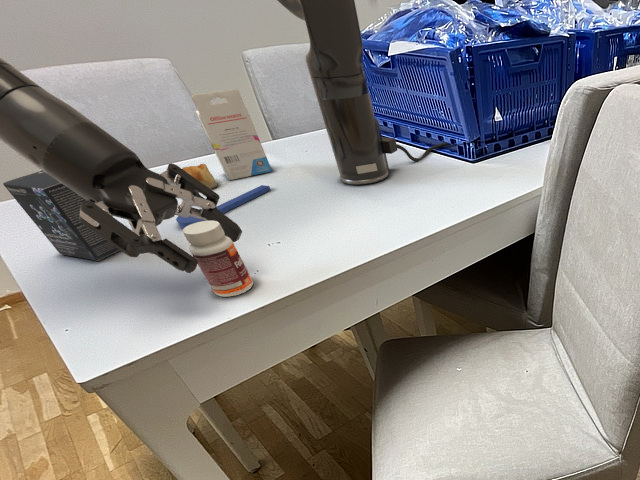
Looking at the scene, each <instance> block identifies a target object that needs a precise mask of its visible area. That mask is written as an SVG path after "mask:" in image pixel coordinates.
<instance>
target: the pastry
mask: <svg viewBox="0 0 640 480" xmlns="http://www.w3.org/2000/svg"><path fill="white" fill-rule="evenodd" d="M181 169H183V170H184V171H186V172H187V173H188V174H190V175H191V176H193V177H194V178H196V179H197V180H198V181H200V182H201V183H203V184H204V185H206V186H207V187H208V188H210V189H211V190H212V189H214V188H216V187H217V186H218V183H217V181H216V179H215V177H214V175H213V174H212V173H211V171H210V169H209V168H208V166H207V164H206V163H200V164H199V165H190V166H189V165H188V166H184V167H182V168H181Z"/></svg>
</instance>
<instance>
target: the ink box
mask: <svg viewBox="0 0 640 480" xmlns="http://www.w3.org/2000/svg"><path fill="white" fill-rule="evenodd" d="M216 98H219V99H226V101H222V102H215V103H212V102H211V101H212V100H216ZM191 100H192V102H193V104H194V106H195V107H196V110H195V113H196V116H197V118H198V120H199V122H200V124H201V126H202V129H203V131H204V133H205V135H206V137H207V139H208V141H209V142H210V145H211V147H212V149H213V151H214V153H215V155H216V157H217V159H218V162H219V163H220V165H221V168H222V170H223V172H224V175H225V176H226V177H227V178H228V179H229V180H230V181H233V180H237V179H243V178H247V177H253V176H256V175H261V174H266V173H271V172H273V169H272V167H271V165H270V161H269V160H268V157H267V155H266V152H265V150H264V147H263V145H262V142H261V140H260V138H259V135H258V132H257V130H256V127H255V125H254V123H253V120H252V118H251V116H250V113H249V110H248V108H247V107H246V106H245V105H246V104H245V102H244V100H243V98H242V96H241V93H240V91H239V89H238V88H232V89H223V90H216V91H209V92H202V93H193V94H192V95H191Z"/></svg>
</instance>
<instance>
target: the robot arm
mask: <svg viewBox="0 0 640 480" xmlns="http://www.w3.org/2000/svg"><path fill="white" fill-rule="evenodd" d="M276 1H277V2H278V3H279V4H280V5H281V6H283V7H284V8H285V10H287V11H288V12H289V13H291V14H292V15H293V16H295V17H296V18H298V19H299V20H301V21H304V22H305V25H306V30H307V34H308V39H309V51H308V52H307V53H306V55H305V63H306V68H307V70H308V74H309V76H310V80H311V84H312V87H313V91H314V93H315V97H316V100H317V103H318V106H319V110H320V114H321V117H322V121H323V123H324V126H325V130H326V133H327V136H328V139H329V143H330V146H331V149H332V154H333V156H334V159H335V163H336V166H337V170H338V172H339V173H338V174H339V178H340V181H341V182H342V183H344V184H347V185H357V186H358V185H369V184H373V183H377V182H380V181H383V180H385V179H387V178H388V176H389V172H390V166H389V161H388V158H387V154H389V155H390V154H391V155H392V154H394V153H395V152H397V151H398V150H400V151H402V152H403V153H404V154H405V155H406V156H407V158H409V159H410V160H411V161H412V162H415V163H418V162H420V161H422V160H423V159H425V158H426V157H427V156H428V155H429V154H430V152H431V151H435V150H437V149H440V148H444V147H448V146H452V145H451V144H448V143H446V142H442V143H439V144H435V145H432V146H430V147H428V148H427V149H426V150H425V151H424V153H423V154H422V155H421V157H418V158H417V157H414V156H413V155H412V154H411V153H410V152H409V151H408V150H407V149H406V148H405V147H404V146H403V145H400V144H398V143H397V140H396V138H394V137H384V136H383V135H382V132H381V126H380V123H379V120H378V118H376V116H375V112H374V107H373V103H372V98H371V95H370V89H369V85H368V81H367V78H366V72H365V68H364V64H363V55H364V45H363V44H364V43H363V37H362V33H361V28H360V21H359V17H358V12H357V7H356V1H355V0H276ZM0 141H2V143H4V144H6V145H7V146H8V147H9V148H10V149H11V150H12V151H14V152H15V153H16V154H18V155H19V156H20V157H22V158H23V159H24V160H25V161H28V162H29V163H31V165H34V166H35V167H36V168H38V169H39V170H40V171H41V170H42V171H44V172H45V173H47V174H48V175H50V176H51V177H53V178H54V179H56V180H57V181H59V182H60V183H62V184H63V185H65V186H66V187H68V188H69V189H71V190H72V191H74V192H75V193H77V194H78V195H80V196H81V197H83V198H84V199H86V200H87V201H82V202H81V207H80V214H79V221H80V222H81V223H82V224H84V225H85V226H87V227H88V228H90V229H91V230H92V231H94V232H95V233H97V234H98V235H100V236H101V237H102V238H104V239H105V240H107V241H108V242H110V243H111V244H112V245H114V246H115V247H117V248H118V249H120V252H122V253H124V254H125V255H127V256H128V257H131V258H139V256H140V255H141V254H149V255H155V256H157V257H158V258H159V259H161V260H162V261H164V262H166V263H167V264H169V265H170V266H172V267H173V268H175V269H176V270H178V271H181V272H186V273H187V274H192V273H193V272H194V271H196V269H197V267H198V261H197V259H196V258H194V257H193V256H192V254H191V253H189V252H187V251H185V250H184V249H182V248H181V247H180V246H178V245H177V244H175V243H174V242H172V241H171V240H169V239H168V238H163V239H162V235H161V233H160V232H159V229H158V227H157V226H159V225H161V224H162V223H163V221H165V220H170V219H172V218H174V217H175V216H177V217H178V216H180V217H184V218H186V217H189V216H191V217H194V218H198V219H202V220H205V221H217V222H219V223H220V225H221V227H222V229H223V231H224V233H225V235H224V236H227V237H229V238H230V239H231V240H232V241H233V243H235V242H237V241H239V240H240V238H241V236H242V235H243V230H242V229H241V227H240V226H239V224H238V223H237V222H235V221H233V219H231V218H230V217H229V216H227V215H226V214H225V213H221V212H220V211H219V210H218V209H217V207H216V206H218V203H219V200H220V195H219V194H218V193H217V192H216V191H214V190H212V189H210V188H208V187H207V186H206V185H204V184H203V183H201V182H200V181H198V180H197V179H196V178H194V177H193V176H191V175H190V174H188V173H187V172H186V171H184V170H183V169H182V168H181V167H180V166H178V165H177V164H175V163H168V164H167V168H166V170H165V171H162V172H160V173H158V172H155V171H153V170H151V169H149V168H147V167H146V166H145V165H144V163H143V162H142V160H141V159H140V158H139V156H138V155H137V153H135V152H134V151H133V150H132V149H130V148H129V147H128V146H126V145H125V144H123V143H122V142H121V141H119V140H118V139H116V138H115V137H114V136H113V135H111V134H110V133H108V132H107V131H106V130H104V129H103V128H102V127H100V126H99V125H97V123H95V122H94V121H92V120H90V119H89V118H88V117H87V116H85V115H84V114H83V113H82V112H80V111H78V110H77V109H75V108H74V107H73V106H71V105H70V104H69V103H67V102H65V101H63V100H62V99H60V98H58V97H57V96H55V95H53V94H52V93H51V92H49V91H47V90H46V89H44V88H43V87H42V86H41V85H39V84H38V83H37V82H35V81H34V80H32V79H31V78H30V77H28V76H27V75H26V74H24V73H22V72H21V71H20V70H19V69H17V68H16V67H15V66H14V65H12V64H10V63H8V61H6V60H4V59H3V58H2V57H0ZM202 195H203V196H202ZM178 199H179V200H182V201H181V204H179V202H178ZM196 207H197V208H196ZM200 209H202V210H200ZM115 217H116V218H115ZM117 218H119V219H123V220H127V221H128V223H129V225H130V227H131V228H129V227H128V226H126V225H124V224H123V223H122V222H120V221H119V220H118V219H117Z"/></svg>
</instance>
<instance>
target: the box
mask: <svg viewBox="0 0 640 480" xmlns="http://www.w3.org/2000/svg"><path fill="white" fill-rule="evenodd" d="M2 185H3V186H4V187H5V189H6V190H7V191H8V193H9V194H10V195H11V196H12V197H13V198H14V200H15V201H16V202H17V203H18V205H19V206H20V207H21V208H22V210H23V211H24V212H25V213H26V215H27V216H28V217H29V219H31V221H32V222H33V223H34V224H35V225H36V227H37V228H38V229H39V230H40V232H41V233H42V234H43V235H44V236H45V237H46V239H47V240H48V241H49V243H50V244H51V245H52V246H53V247H54V249H55V250H56V251H57V253H58V254H59V255H63V256H69V257H73V258H74V257H75V258H80V259H87V260H92V261H96V262H98V261H101V260H104V259H105V258H107V257H109V256H112V255H113V254H116V253H117V252H121V250H120V249H118V248H117V247H115V246H114V245H112V244H111V243H110V242H108V241H107V240H105V239H104V238H102V237H101V236H100V235H98V234H97V233H95V232H94V231H92V230H91V229H90V228H88V227H87V226H85V225H84V224H82V223H81V222H80V221H79V214H80V207H81V202H82V201H87V200H86V199H84V198H83V197H81V196H80V195H78V194H77V193H75V192H74V191H72V190H71V189H69V188H68V187H66V186H65V185H63V184H62V183H60V182H59V181H57V180H56V179H54V178H53V177H51V176H50V175H48V174H47V173H45V172H44V171H42V170H41V169H40V170H39V171H36V172H33V173H30V174H26V175H23V176H20V177H15V178H13V179H10V180H7V181H5V182H3V183H2Z"/></svg>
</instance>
